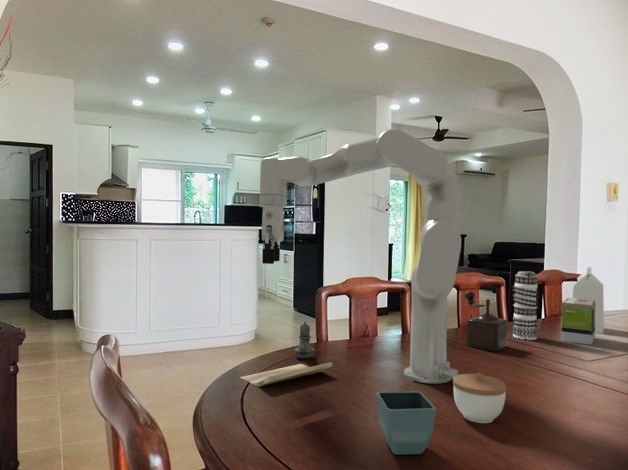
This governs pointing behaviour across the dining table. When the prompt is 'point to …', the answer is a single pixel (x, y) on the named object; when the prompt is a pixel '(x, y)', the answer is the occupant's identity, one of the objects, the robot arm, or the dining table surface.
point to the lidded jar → (479, 396)
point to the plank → (293, 374)
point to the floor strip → (272, 373)
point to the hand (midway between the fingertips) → (271, 262)
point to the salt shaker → (304, 343)
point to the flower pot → (406, 421)
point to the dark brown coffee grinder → (485, 328)
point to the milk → (591, 296)
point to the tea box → (578, 321)
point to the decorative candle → (525, 305)
